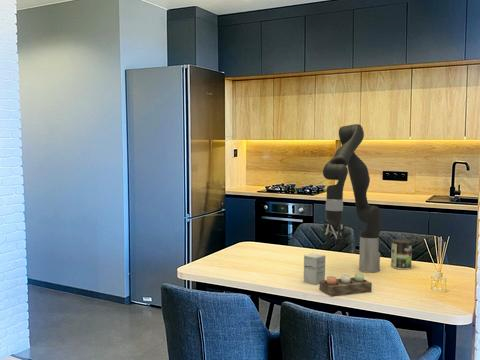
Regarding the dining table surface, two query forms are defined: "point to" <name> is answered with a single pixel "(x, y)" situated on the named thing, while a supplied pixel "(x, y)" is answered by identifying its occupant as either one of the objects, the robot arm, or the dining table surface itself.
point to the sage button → (359, 277)
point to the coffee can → (401, 254)
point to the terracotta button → (331, 280)
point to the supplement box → (314, 268)
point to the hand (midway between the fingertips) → (333, 245)
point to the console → (345, 287)
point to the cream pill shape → (345, 279)
